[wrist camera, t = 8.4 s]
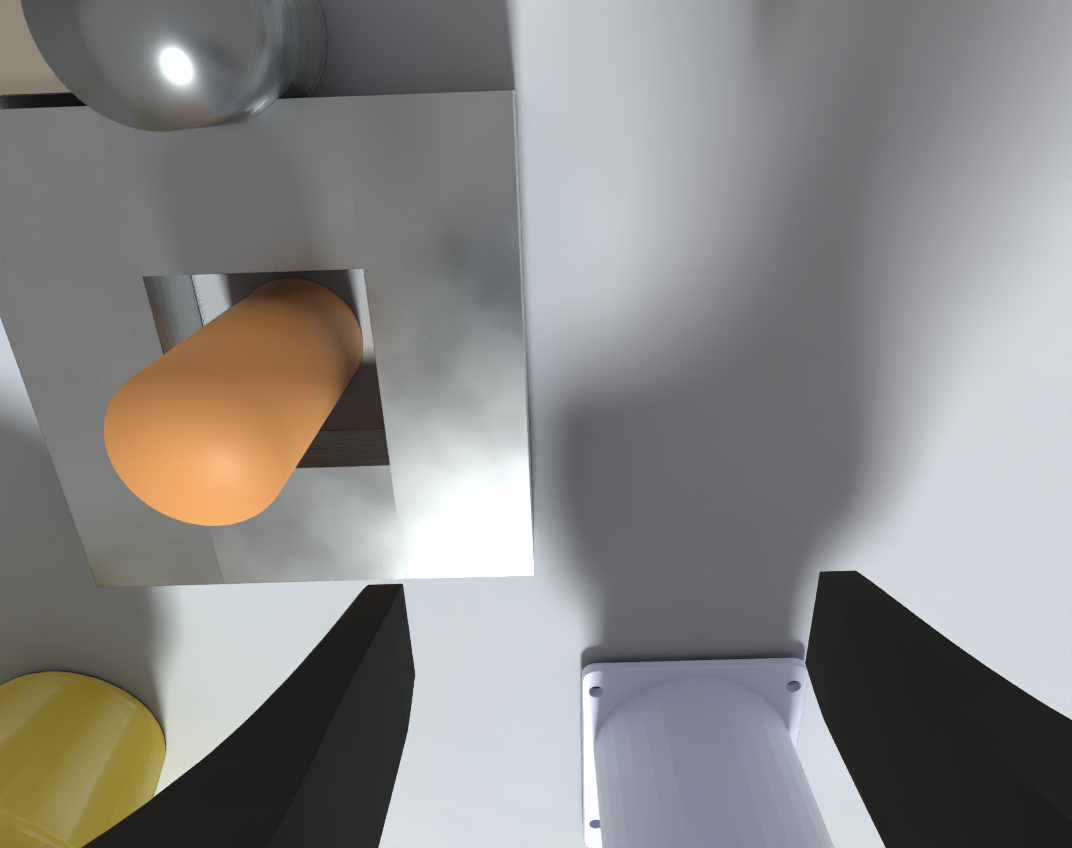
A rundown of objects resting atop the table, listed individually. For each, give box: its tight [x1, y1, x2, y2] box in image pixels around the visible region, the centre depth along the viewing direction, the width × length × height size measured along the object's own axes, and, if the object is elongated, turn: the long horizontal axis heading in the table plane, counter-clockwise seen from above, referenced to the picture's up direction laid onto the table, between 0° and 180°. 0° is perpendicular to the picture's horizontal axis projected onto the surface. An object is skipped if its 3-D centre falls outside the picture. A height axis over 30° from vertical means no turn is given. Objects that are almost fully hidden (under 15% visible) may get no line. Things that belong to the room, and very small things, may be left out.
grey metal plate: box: [0, 0, 534, 588], centre depth 18 cm, size 16×20×5 cm
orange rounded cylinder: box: [104, 278, 363, 526], centre depth 17 cm, size 4×4×7 cm
